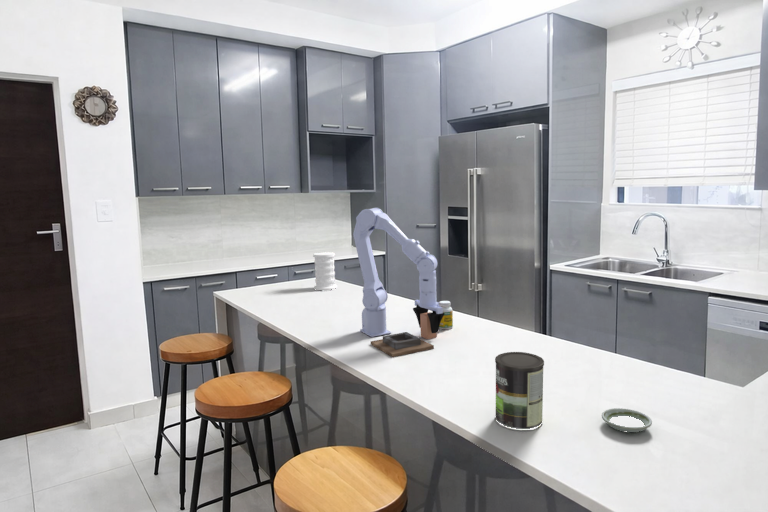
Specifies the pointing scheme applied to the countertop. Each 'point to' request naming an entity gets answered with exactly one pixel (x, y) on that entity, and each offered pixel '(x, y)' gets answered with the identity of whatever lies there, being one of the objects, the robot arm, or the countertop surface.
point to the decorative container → (324, 271)
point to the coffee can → (519, 389)
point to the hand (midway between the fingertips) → (428, 330)
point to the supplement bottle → (446, 315)
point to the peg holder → (401, 344)
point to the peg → (426, 327)
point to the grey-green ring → (626, 412)
